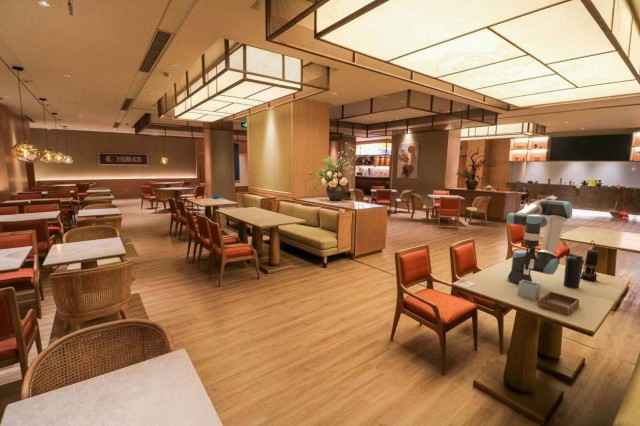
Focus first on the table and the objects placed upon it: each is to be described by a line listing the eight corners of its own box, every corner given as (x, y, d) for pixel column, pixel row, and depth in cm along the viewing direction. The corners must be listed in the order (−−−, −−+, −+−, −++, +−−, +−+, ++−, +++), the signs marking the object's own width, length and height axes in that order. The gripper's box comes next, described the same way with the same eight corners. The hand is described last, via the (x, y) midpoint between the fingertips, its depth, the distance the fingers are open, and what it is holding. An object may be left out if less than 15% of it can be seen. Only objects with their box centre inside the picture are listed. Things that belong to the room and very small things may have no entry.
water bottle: (568, 282, 228) (572, 252, 224) (583, 288, 218) (588, 256, 214) (558, 284, 224) (562, 253, 221) (573, 289, 215) (578, 257, 211)
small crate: (521, 292, 211) (523, 279, 209) (538, 297, 203) (540, 284, 202) (517, 294, 207) (518, 281, 205) (534, 300, 199) (536, 286, 197)
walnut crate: (549, 297, 202) (550, 291, 202) (578, 306, 191) (579, 299, 190) (537, 306, 190) (538, 299, 190) (568, 315, 179) (569, 308, 178)
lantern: (599, 281, 231) (605, 241, 226) (590, 282, 228) (596, 242, 223) (586, 276, 239) (591, 238, 234) (577, 278, 237) (583, 239, 232)
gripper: (529, 234, 207) (526, 264, 211) (520, 242, 190) (517, 275, 193) (542, 236, 202) (539, 267, 206) (535, 244, 185) (531, 278, 188)
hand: (528, 271), depth 200 cm, fingers open, 13 cm apart
